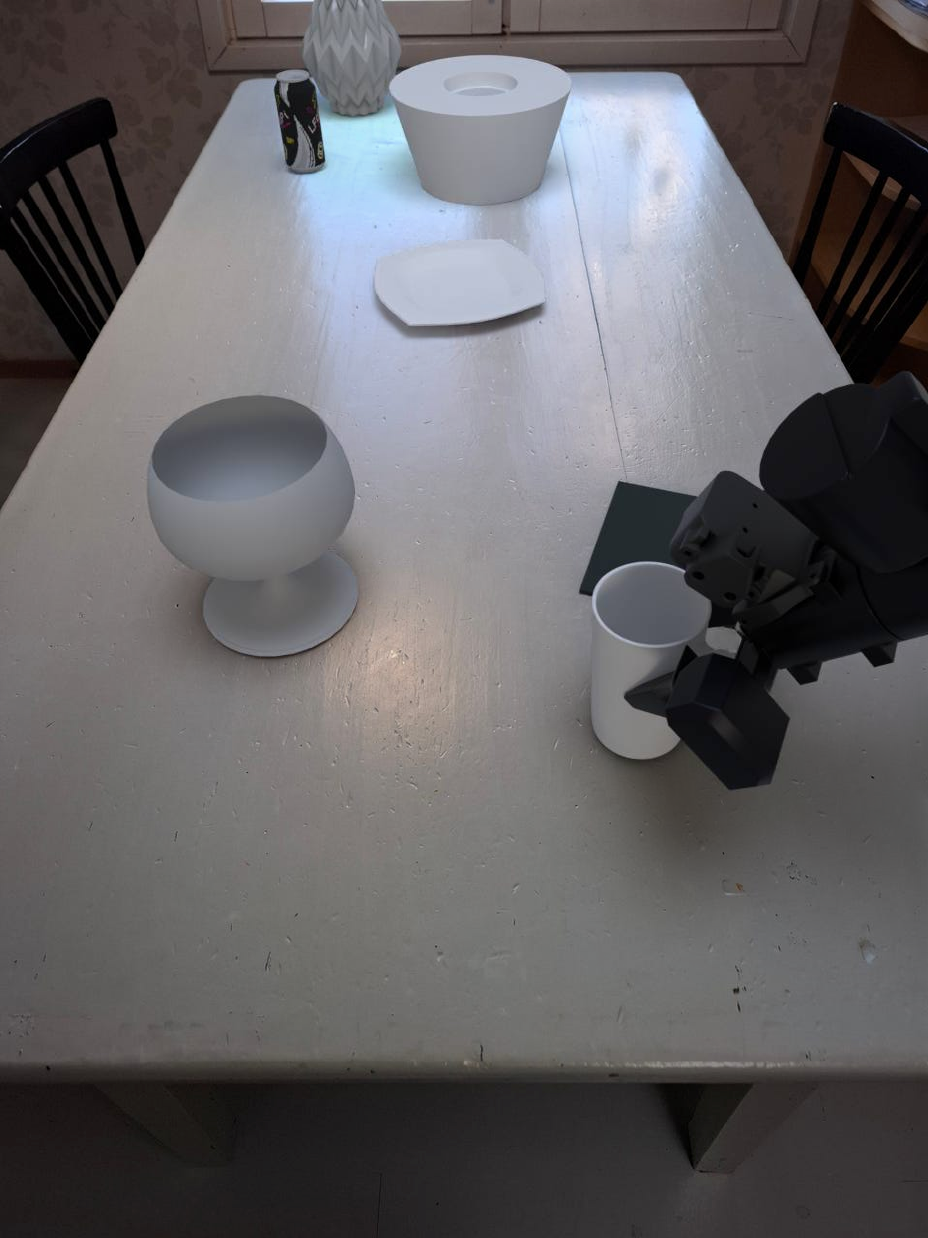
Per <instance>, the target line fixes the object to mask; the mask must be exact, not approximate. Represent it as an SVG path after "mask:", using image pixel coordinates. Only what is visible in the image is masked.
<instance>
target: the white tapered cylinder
mask: <svg viewBox="0 0 928 1238" xmlns="http://www.w3.org/2000/svg"><path fill="white" fill-rule="evenodd" d="M572 87H573V80H572V77H571V76H570V75H569V74H568V73H567V72H565V71H564V70H563V69H561V68H560V67H558V66H555V65H553V64H551V63H549V62H548V63H547V62H544V61H540V60H537V59H532V58H526V57H521V56H512V55H511V56H510V55H497V54H496V55H495V54H480V55H479V54H478V55H477V54H476V55H475V54H474V55H461V56H453V57H447V58H446V57H445V58H439V59H435V60H430V61H426V62H422V63H420V64H415V65H414V66H411V67H409V68H407V69H404V70H403V71H401V72H400V73H398V74H397V75H395V77H394V79H393V80H392V81H391V82H390V86H389V90H390V92H389V93H390V95H391V98H392V102H393V105H394V108H395V111H396V113H397V117H398V120H399V121H400V122H399V123H400V126H401V129H402V132H403V134H404V137H405V141H406V143H407V147H408V149H409V151H410V156H411V158H412V161H413V165H414V167H415V171H416V173H417V176H418V179H419V182H420V184H421V187H422V189H423V190H424V191H425V192H426V193H427V194H429V195H430V196H432V197H434V198H436V199H439V200H441V201H445V202H448V203H452V204H458V205H467V206H490V205H501V204H506V203H509V202H513V201H517V200H521V199H523V198H525V197H527V196H530V195H531V194H532V193H534V192H536V191H537V190H538V188H539V187H540V186H541V184H542V181H543V178H544V175H545V172H546V169H547V165H548V162H549V159H550V157H551V153H552V150H553V147H554V144H555V141H556V137H557V134H558V131H559V128H560V125H561V121H562V119H563V116H564V112H565V109H566V106H567V101H568V99H569V96H570V94H571V90H572Z"/></svg>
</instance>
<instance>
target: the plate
mask: <svg viewBox="0 0 928 1238" xmlns="http://www.w3.org/2000/svg"><path fill="white" fill-rule="evenodd" d="M373 288H374V291H375V294H376V296H377V297H378V299H379V300H380V302H381V303H382V304H383V305H384V306H385V308H386V309H388V311H390V313H392V314H393V315H395V317H397V318H398V319H399V320H400V321H401V322H403V323H404V324H406V325H407V326H408V327H430V326H431V327H432V326H456V325H457V326H458V325H467V324H477V323H483V322H488V321H492V320H496V319H497V320H498V319H500V318H504V317H508V316H511V315H514V314H518V313H521V312H523V311H526V310H529V309H532V308H535V307H537V306H540V305H542V304H545V303H546V301H547V293H546V292H547V291H546V283H545V279H544V276H543V272H542V271H541V269H540V267H539V266H538V265H537V264H536V262H535V261H533V259H532V258H530V257H529V256H528V255H527V254H526V253H525V252H523V251H521V250H520V249H519V248H517V247H516V246H514V245H512V244H510V243H509V242H507V241H506V240H504V239H502V238H496V239H495V238H490V239H489V238H484V239H459V240H447V241H438V242H433V243H432V242H431V243H427V244H423V245H419V246H414V247H411V248H406V249H403V250H400V251H397V252H394V253H390V254H387V255H383V256H382V257H379V258H376V261H375V265H374V272H373Z"/></svg>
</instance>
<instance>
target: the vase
mask: <svg viewBox="0 0 928 1238" xmlns="http://www.w3.org/2000/svg"><path fill="white" fill-rule="evenodd" d="M402 49H403V42H402V40H401V38H400V36H399V34H398V32H397V31H396V29H395V27H394V26H393V25H392V23H391V21H390V18H389V16H388V13H387V11H386V8H385V6H384V4H383V1H382V0H313V2H312V5H311V10H310V14H309V20H308V25H307V28H306V30H305V34H304V35H303V38H302V42H301V45H300V48H299V54H300V55H301V57H302V60H303V62H304V64H305V67H306V68H307V71H308V73H309V75H310V76H312V78H313V80H314V81H313V82H314V84H315V86H316V87H317V89H318V91H319V93H320V95H321V97H323V98H324V99H326V100H327V102H328V103H329V105H330V108H331V110H332V113H337V114H338V113H339V114H340V115H341V116H348V115H349V116H351V117H356V116H358V115H360V116H366V115H369V114H375V113H378V111H379V110H382V109H383V108H384V104H385V98H386V97H387V95H388V94H389V93H390V90H389V86H390V82H391V81H392V80H393V79H394V77H395V76H396V72H397V69H398V67H399V64H400V60H401V57H402V54H403V51H402Z"/></svg>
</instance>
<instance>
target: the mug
mask: <svg viewBox="0 0 928 1238" xmlns="http://www.w3.org/2000/svg"><path fill="white" fill-rule="evenodd" d="M684 573H685V571H684V570H682V569H680V568H678V567H675V566H672V565H669V564H665V563H659V562H636V563H630V564H626V565H623V566H620V567H618V568H616V569H614V570H612V571H610V572H609V573H607V574H606V575H605V576H603V577H602V578H601V580H600V581H599V582H598V583H597V585H596V587H595V589H594V592H593V596H591V626H590V627H591V629H590V631H591V639H590V640H591V642H590V643H591V645H590V646H591V647H590V649H591V650H590V651H591V653H590V654H591V656H590V658H591V659H590V660H591V661H590V663H591V664H590V666H591V669H590V671H591V675H590V676H591V677H590V681H591V682H590V708H591V709H590V710H591V711H590V712H591V725H592V728H593V731H594V733H595V735H596V737H597V738H598V740H599V741H600V743H601V744H602V745H604V747H606V748H607V750H610V751H611V752H613V753H614V754H617V755H619V756H621V757H624V758H627V759H631V760H632V759H634V760H651V759H655V758H658V757H661V756H663V755H666V754H668V753H669V752H671V750H673V749H674V748H675V747H676V746H677V745H678V744H679V742H680V741H681V739H680V738H679V737H678V736H677V735H676V734H675V732H674V731H673V730H672V729H671V728H670V727H669V726H668V723H667V719H666V718H664V717H661V716H658V715H654V714H651V713H648V712H644V711H641V710H638V709H635V708H633V707H632V706H631V705H630V704H629V703H628V702H627V701H626V700H625V699H624V695H625V693H626V692H628V691H630V690H632V689H634V688H635V687H637V686H639V685H641V684H643V683H645V682H648V681H650V680H653V679H655V678H657V677H660V676H662V675H665V674H667V673H670V672H672V671H674V670H675V669H676V667H677V664H678V662H679V659H680V657H681V655H682V652H683V650H684V647H685V646H686V645H688V646H689V647H690V648H691V649H692V650H693V651H694V652H695V653H696V654H697V656H698V657H700V656H703V655H706V654H710V653H717V654H720V655H723V656H727V657H730V658H733V659H735V656H736V653H733V652H731V651H728V650H727V649H724V648H717V649H715V648H713V647H712V646H710V644H708V643H707V640H706V639H707V634H708V629H709V628H708V623H709V620H710V617H711V611H712V605H711V601H710V600H709V599H707V598H706V597H704V596H703V595H701V594H700V593H698V592H697V591H695V590H693V589H692V588H690V587H689V586H688V585H687V584H686V583H685V580H684Z"/></svg>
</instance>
